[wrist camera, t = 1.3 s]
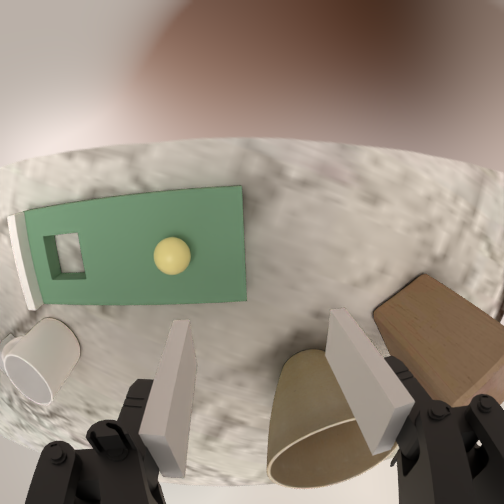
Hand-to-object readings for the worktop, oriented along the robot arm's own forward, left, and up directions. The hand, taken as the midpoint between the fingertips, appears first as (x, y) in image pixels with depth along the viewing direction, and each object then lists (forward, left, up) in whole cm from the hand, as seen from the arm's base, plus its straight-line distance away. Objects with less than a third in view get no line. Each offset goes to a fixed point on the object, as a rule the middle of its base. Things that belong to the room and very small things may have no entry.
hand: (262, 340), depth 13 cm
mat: (-14, 0, -19) cm, 24 cm away
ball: (-7, 0, -15) cm, 16 cm away
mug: (-30, -13, -19) cm, 38 cm away
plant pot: (+8, -19, -19) cm, 28 cm away
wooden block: (+23, -12, -19) cm, 32 cm away
